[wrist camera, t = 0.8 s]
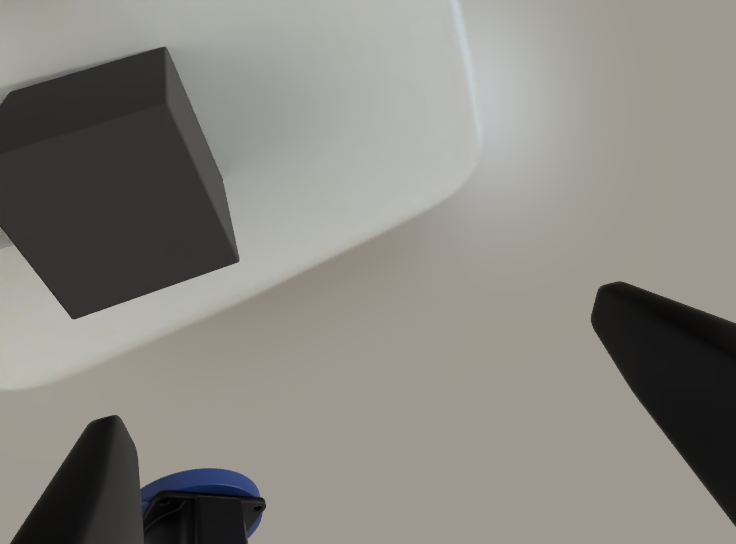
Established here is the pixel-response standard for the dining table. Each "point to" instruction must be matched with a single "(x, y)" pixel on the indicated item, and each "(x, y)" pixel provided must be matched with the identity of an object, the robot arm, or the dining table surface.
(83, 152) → the pad block
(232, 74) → the dining table surface
